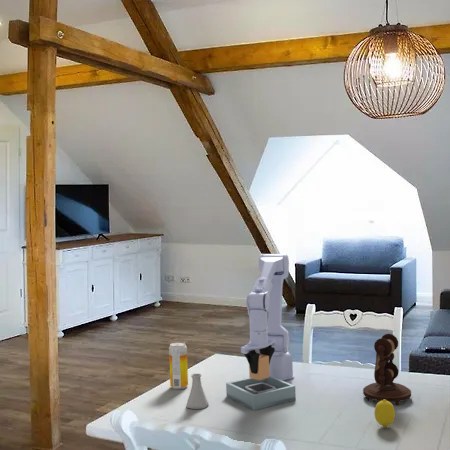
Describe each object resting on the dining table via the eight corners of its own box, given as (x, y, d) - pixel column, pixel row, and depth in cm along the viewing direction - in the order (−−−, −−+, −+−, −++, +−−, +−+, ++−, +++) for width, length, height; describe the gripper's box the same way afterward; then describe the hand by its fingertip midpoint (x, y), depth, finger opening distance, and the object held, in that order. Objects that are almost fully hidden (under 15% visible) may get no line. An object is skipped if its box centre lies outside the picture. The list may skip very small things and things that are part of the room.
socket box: (266, 387, 221) (266, 374, 221) (295, 399, 208) (295, 385, 207) (226, 396, 213) (226, 382, 213) (253, 410, 199) (253, 395, 199)
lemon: (372, 424, 185) (371, 396, 184) (391, 423, 185) (390, 395, 185) (378, 431, 180) (378, 403, 179) (398, 430, 180) (397, 402, 179)
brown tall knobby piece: (371, 388, 216) (370, 329, 215) (416, 394, 209) (415, 333, 207) (356, 402, 204) (355, 339, 202) (403, 409, 196) (402, 343, 195)
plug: (259, 374, 213) (258, 353, 213) (269, 377, 210) (268, 355, 209) (249, 377, 210) (248, 356, 210) (259, 380, 207) (258, 358, 206)
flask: (212, 403, 207) (211, 372, 206) (204, 410, 200) (202, 379, 200) (191, 401, 210) (189, 370, 209) (182, 408, 203) (181, 377, 202)
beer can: (189, 384, 227) (187, 341, 226) (186, 390, 221) (185, 346, 220) (172, 384, 227) (170, 342, 226) (169, 389, 221) (167, 346, 220)
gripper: (265, 323, 216) (266, 364, 217) (233, 331, 207) (234, 373, 208) (281, 327, 211) (282, 368, 212) (249, 335, 202) (250, 378, 202)
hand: (259, 371), depth 210 cm, fingers closed on plug, 4 cm apart
